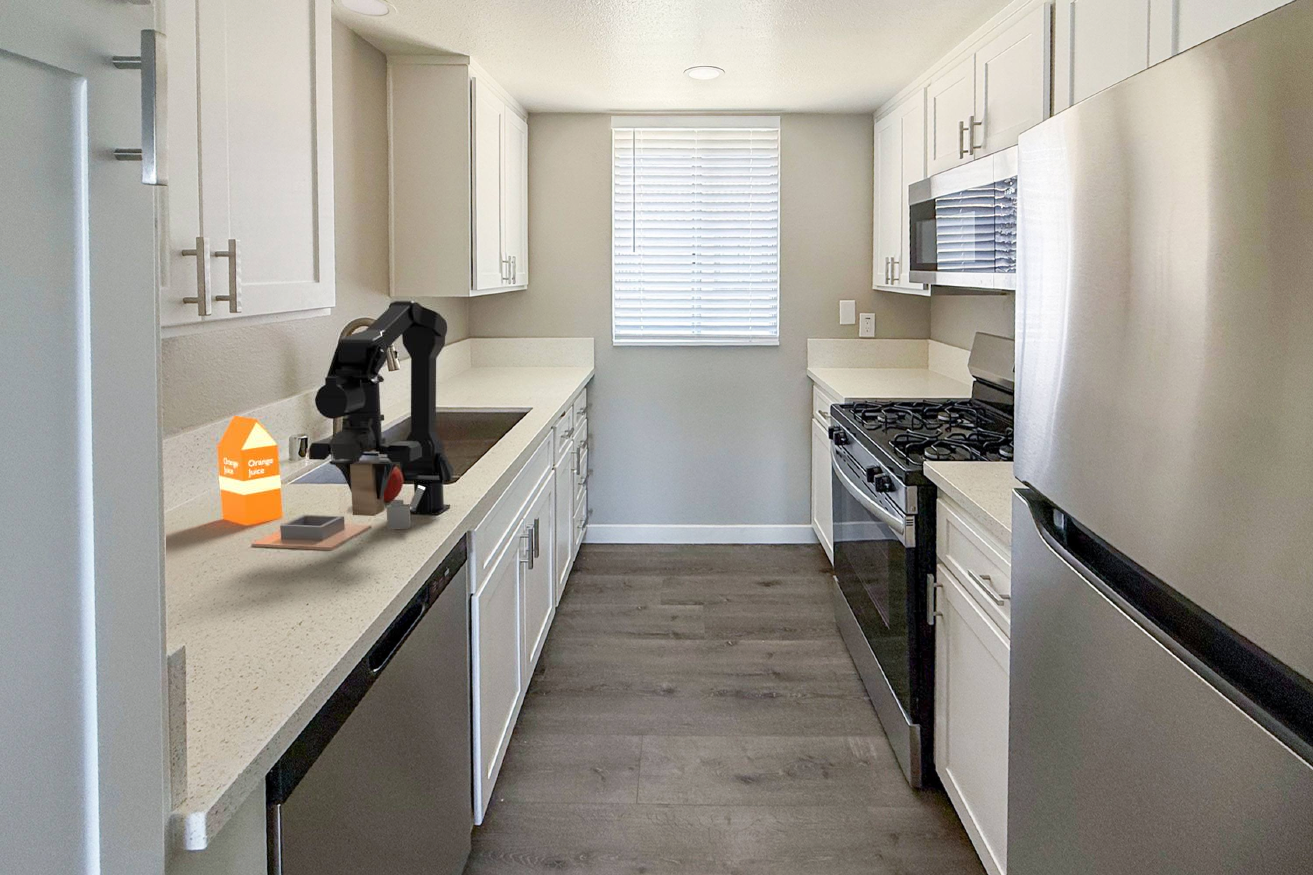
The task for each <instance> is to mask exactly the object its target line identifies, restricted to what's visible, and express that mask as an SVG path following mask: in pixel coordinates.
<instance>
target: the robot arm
mask: <svg viewBox="0 0 1313 875" xmlns="http://www.w3.org/2000/svg"><path fill="white" fill-rule="evenodd" d="M447 333H448V324H447V321H446V319H445V317H443V316H442V315H441V314H440V313H439V312H437V311H435V310H433V309H430V308H427V307H424V306H423V305H421V304H420V302H416V301H415V300H395V301H392V302H390V303H389V305H388V308H387V309H386V310H385V311H384V312H383V313H382V314H381V315H379V317H378V318H376V319H375V321H373V322H372V323H371V324H370V325H369V326H368V327H367V328H366V329H364V330H363V331H358V332H355V333H351V334H349V335H346V336H344V337H342V338H341V339H340V341H339V342H338V344H337V346H336V347H335V351H334V354H333V356H332V360H331V362H330V366H329V369H328V371H327V376H326V377H325V378H324V382H325V384H324V385H322V386H321V387H320V388H319V389H318V390H317V392H316V395H315V397H314V404H315V407H316V409H317V411H318V412H319V414H321V415H322V417H324V418H326V419H331V420H332V419H339V418H342V417H344V418H342V422H341V423H342V424H341V425H342V427H341V430H339V431H338V432H337V433H336V434H335V435H334V436H333V437H332V438H322V439H320V440H318V441H317V440H316V441H314V442H311V443H310V445H309V447H308V448H307V449H308V450H307V452H308V460H312V461H313V460H315V461H316V460H321V461H324V460H326V459H328V457H329V456H330V461H328V463H329V465H332V466H335V467H336V468H337V469H338V470H340V472H341V474H342V475H343V477H344V479H345V481H346V483H347V486H348V488H349V490H350V491H351V475H350V464H353V463H355V462H358V461H360V460H361V458H362V457H363V456H366V457H378V460H377V461H378V462H375V463H373V466H374V468H375V470H376V493H377V499H378V500H380V499H382V497H383V494H384V491H385V489H386V486H387V483H388V481H389V478H390V475H391V473H392V471H393V469H394V467H396V465H397V464H398V463H399V467H400V471H401V473H402V475H403V483H408V482H410V483H413V491H414V492H413V493H414V494H415V492H416V489H417V487H418V485H420V486H423V487H425V490H424V492H423V494H422V496H421V498H420V500H419V503H418V505H417V507H416V509H415V508H412V507H411V508H410V514H420V515H421V514H423V515H429V514H430V515H440V514H441V513H443V512H445V511H446V510H448V509H450V507H451V504H445V501H444V500H445V498H444V484H445V483H450V482H452V480H453V477H454V468H453V466H452V464H451V463H450V461H449V459H448V458H447V456H446V454H445V444H444V442H443V440H442V439H441V437H440V436H439V434H438V432H437V429H436V428H437V423H436V422H437V419H436V418H437V358H438V357H439V355H440V353H441V352H442V351H443V349H444V348H445V343H446V335H447ZM400 336H402V337H401V339H402V345H403V347H404V348H405V350H406V351H407V353H408V355H409V357H410V430H409V431H410V432H409V433H408V435H407V437H406V438H405V439H402V440H399V441H397V442H393V443H391V444H389V445H384V444H386V437H384V436H383V434H382V421H385V414H381V410H382V409H381V395H380V392H381V391H380V383H383V382H384V381H385V379H384V377H383V375H381V374H380V371H381V369H382V368H383V366H384V365H385V363H386V362H387V360H388V358H389V357H388V353H387V351H388V349H389V348H390V347H391V345H392V344H394V342H396V341H397V340H398V339H399V337H400Z"/></svg>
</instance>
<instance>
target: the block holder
mask: <svg viewBox="0 0 1313 875" xmlns="http://www.w3.org/2000/svg"><path fill="white" fill-rule="evenodd" d="M279 528H280V530H277V531H275V532H273V533H271V534H269V535H267V536H265V537H263V538H261V539H258V540H256V541H254V542H252V543H251V547H254V548H255V547H257V548H260V547H261V548H279V549H298V550H299V549H302V550H321V551H322V550H323V551H332V550H335V549H337V548H338V547H340V546H342V545H343V544H345V543H347V542H349V541H351V540H353V539H354V538H356V537H358V536H360V535H361V534H363V533H364V532H367V531H368V530H371V529H372V525H371V524H350V523H349V524H348V523H345V516H344V515H343V516H342V515H326V514H325V515H323V514H302V515H299V516H297V517H295V518H294V519H293V518H292V519H291V520H289V521H287V522H285V523H282V524H280V525H279Z"/></svg>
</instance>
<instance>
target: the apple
mask: <svg viewBox="0 0 1313 875" xmlns="http://www.w3.org/2000/svg"><path fill="white" fill-rule="evenodd" d="M403 484H404V479H403V475H402V471H401V469H399V468H398V467H397V466H395V467H394V469H393V471H392V473H391V475H390V478H389V481H388V483H387V486H386V489H385V491H384V503H389V502H390V503H391V502H392V501H394V500H396V498H397V497H398V496H399V495H400V492H401V491H402V488H403Z"/></svg>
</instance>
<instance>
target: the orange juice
mask: <svg viewBox="0 0 1313 875" xmlns="http://www.w3.org/2000/svg"><path fill="white" fill-rule="evenodd" d="M278 446H279V444H278V443H277V442H276V441H275V440H274V439H273V437H272V436H271V435H270V434H269V432H268V431H267V430H266V428H265V427H264V425H263V424H262V423H261V422H260V421H259V420H258V419H257V418H253V417H245V416H239V415H233V416H232V418H231V421H230V422H229V425H228V426H227V428H226V430H225V432H224V433H223V436H221V439H220V441H219V442H218V444H217V445H216V449H217V450H216V452H217V460H218V461H217V462H218V475H219V476H218V478H219V489H220V500H221V502H220V503H221V512H222V520H226V521H230V522H232V523H237V524H239V525H244V526H250V525H255V524H259V523H265V522H268V521H273V520H277V519H282V518H283V506H282V505H283V504H282V490H281V489H282V487H281V486H282V484H281V474H280V461H279V460H280V459H279V449H278Z"/></svg>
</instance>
